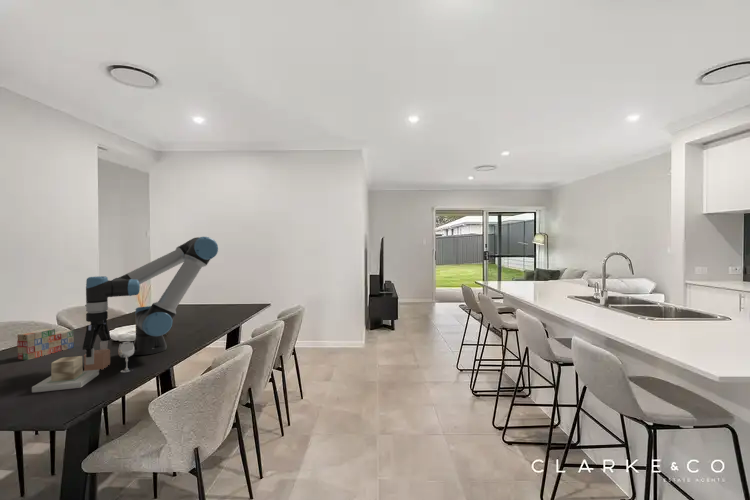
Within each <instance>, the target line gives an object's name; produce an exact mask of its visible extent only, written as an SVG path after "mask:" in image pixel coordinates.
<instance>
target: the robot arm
mask: <svg viewBox="0 0 750 500" xmlns="http://www.w3.org/2000/svg"><path fill="white" fill-rule="evenodd" d="M218 252H219V247H218V243H217V241H215V239H213V237H209V236H198V237H194V238H191V239H189V240H188V241H186V242H184V243H183V244H180V245H178V246H177V247H176V248H175V250H173V251H170V252H169V253H166V254H164V255H162V256H160V257H158V258H156V259H154V260H152V261H150V262H148V263H146V264H143V265H142V266H140V267H137V268H136V269H134V270H131V271H129V272H127V273H126V274H123V275H121V276H119V277H114V278H113V279H111V280H110V279H109V278H108V277H107V276H100V275H99V276H97V275H96V276H89V277H87V278H86V281H85V283H86V284H85V285H86V286H85V305H84V306H85V309H86V311H85V312H86V313H85V319H86V320H85V321H86V322H90V324H89V325H86V328H85V329H86V331H85V333H84V334H85V336H84V340H83V343H82V350H83V351H85V354H86V365H90V364H94V350H95V348H94V345H95V343H96V339H97V336H98V337H99V339H100V342H99V350H105V349H109V348H108V345H109V344H108V343H109V341H111V334H110V331H109V330H110V329H109V326H108V317H109V315H108V314H109V312H108V309H109V305H108V304H109V303H108V300H109V299H108V298H113V297H115V298H117V297H128V296H129V297H131V296H137V295H138V294H139V293H140V290H141V287H140V286H141V284H143V283H145V282H147V281H149V280H151V279H153V278H155V277H157V276H159V275H161V274H163V273H165V272H168V271H169V270H170V269H173V268H175V267H177V266H179V265H181V264H182V265H181V266H180V267H179V269H178V270H177V272H176V273H175V275H174V277H173V278H172V280H171V281H170V282H169V284H168V286H167V287H166V289H165V290H164V292H163V294H162V295H161V297H160V298H159V300H158V301H156V302H153V303H152V304H151V305H150V306H149V305H148V306H139V307H136V308H135V311H134V312H135V313H134V315H135V318H134V319H135V338H134V341H133V343H134V348H135V351H134V354H133V356H134V355H135V356H144V355H147V356H148V355H153V354H157V353H161V352H164V351H166V350H167V342H166V340H165V337H164V335H166V334H167V333H168V332H169V331H170V330H171V329H172V326H173V320H174V318H175V316H176V315H177V307H178V306H179V304H180V303H181V301H182V300H183V298H184V296H185V295H186V293H187V291H189V288H190V287H191V285H192V283H193V282H194V281H195V279H196V277H197V275H198V274H199V273H200V271H201V269H202V268H204V267H207V266H208V264H209V262H210V261H211V260H212V259H214V258H215V257H216V256H217V254H218Z"/></svg>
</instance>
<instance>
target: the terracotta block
mask: <svg viewBox="0 0 750 500" xmlns="http://www.w3.org/2000/svg"><path fill="white" fill-rule="evenodd" d="M83 360H84V361H83V363H84V365H83V368H84V370H83V371H88V370H99V371H100V369H101V370H105V369H106V368H108V367H109V366H110V365H111V348H110V349H109V348H108V349H105V350H100V349H94V364H90V365H86V353H84V355H83ZM108 365H109V366H108ZM104 368H105V369H104Z"/></svg>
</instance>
